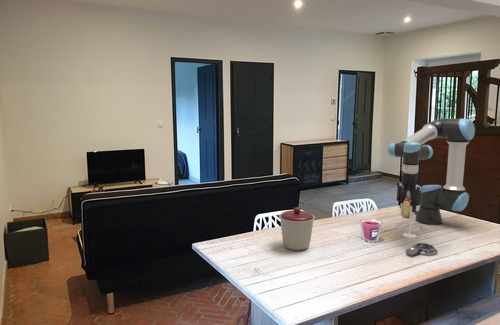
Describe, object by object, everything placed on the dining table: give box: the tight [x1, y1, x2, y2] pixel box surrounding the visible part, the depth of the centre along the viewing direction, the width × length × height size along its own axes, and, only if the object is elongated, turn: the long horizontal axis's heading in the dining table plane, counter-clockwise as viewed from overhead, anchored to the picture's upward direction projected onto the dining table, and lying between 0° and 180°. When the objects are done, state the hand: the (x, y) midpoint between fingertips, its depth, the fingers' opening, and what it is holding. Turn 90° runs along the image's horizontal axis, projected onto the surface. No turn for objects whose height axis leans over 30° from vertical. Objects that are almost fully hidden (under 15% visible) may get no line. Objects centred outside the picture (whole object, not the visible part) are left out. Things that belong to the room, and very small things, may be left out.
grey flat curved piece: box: [405, 242, 438, 257], centre depth 183 cm, size 18×12×4 cm, turn 121°
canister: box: [278, 206, 316, 251], centre depth 189 cm, size 18×18×21 cm
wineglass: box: [402, 205, 420, 239], centre depth 205 cm, size 8×9×20 cm
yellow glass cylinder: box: [401, 196, 413, 220], centre depth 191 cm, size 5×5×11 cm
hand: (407, 216), depth 192 cm, fingers closed on yellow glass cylinder, 5 cm apart
